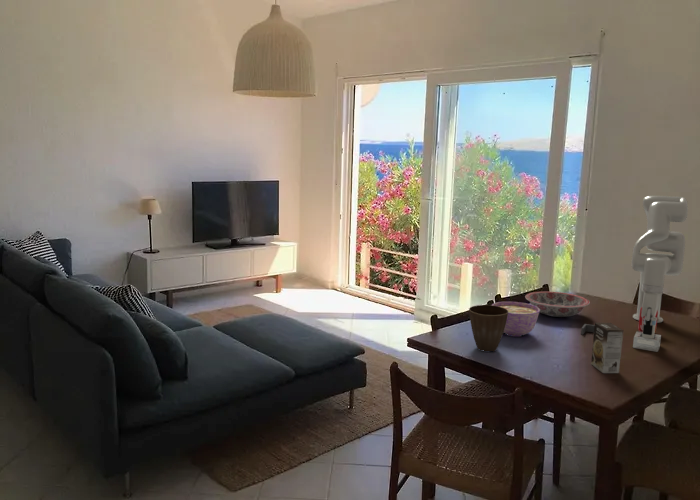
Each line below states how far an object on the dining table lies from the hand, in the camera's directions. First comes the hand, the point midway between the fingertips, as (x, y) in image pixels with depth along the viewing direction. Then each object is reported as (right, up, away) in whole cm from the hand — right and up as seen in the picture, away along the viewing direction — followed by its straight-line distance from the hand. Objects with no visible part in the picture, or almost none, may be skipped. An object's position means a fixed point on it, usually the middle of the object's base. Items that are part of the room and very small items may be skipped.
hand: (647, 332), depth 238 cm
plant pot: (-66, -6, -5) cm, 67 cm away
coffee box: (-28, -10, -24) cm, 38 cm away
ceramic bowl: (-21, +2, +46) cm, 50 cm away
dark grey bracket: (-16, -3, +17) cm, 23 cm away
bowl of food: (-50, -3, +16) cm, 52 cm away
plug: (0, -4, +1) cm, 4 cm away
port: (0, -6, +1) cm, 6 cm away
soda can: (+9, -3, +20) cm, 22 cm away
